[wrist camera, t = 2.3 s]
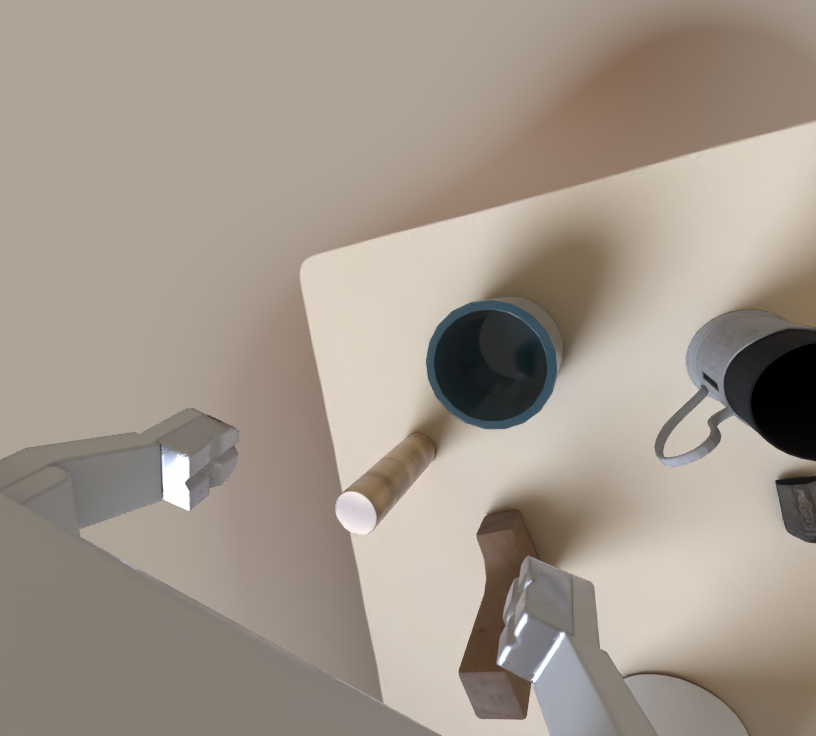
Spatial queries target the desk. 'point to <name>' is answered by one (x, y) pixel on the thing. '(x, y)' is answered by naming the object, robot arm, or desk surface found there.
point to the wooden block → (496, 621)
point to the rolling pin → (384, 484)
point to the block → (799, 506)
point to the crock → (495, 361)
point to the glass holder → (753, 382)
